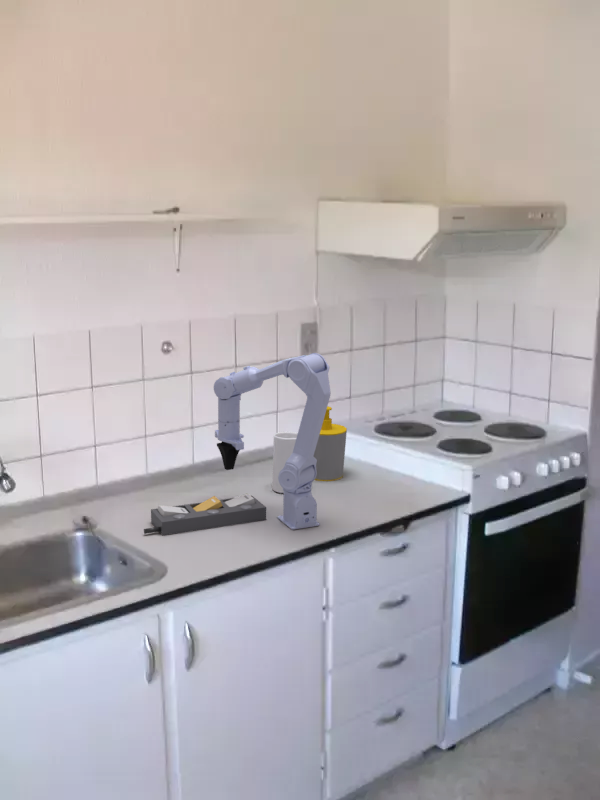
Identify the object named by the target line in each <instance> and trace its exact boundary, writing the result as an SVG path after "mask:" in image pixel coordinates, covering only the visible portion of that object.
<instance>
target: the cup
mask: <svg viewBox="0 0 600 800" xmlns="http://www.w3.org/2000/svg"><path fill="white" fill-rule="evenodd" d="M297 434H298V432H296V431H293V432H292V431H281V432H280V431H279V432H275V433H274V434H273V450H272V451H273V455H272V483H271V484H272V485H271V486H272V487H271V488H272V491H274V492H276V493H279V494H284V491H283V488H282V487H281V485H280V483H279V480H278V476H279V473H280V471H281V470H282V469H283V468H284V466H285V463H286V461H287V459H288V458H289V457H290V456H291V454H292V453H293V449H294V446H295V442H296V438H297Z"/></svg>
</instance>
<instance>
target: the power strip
mask: <svg viewBox="0 0 600 800" xmlns="http://www.w3.org/2000/svg"><path fill="white" fill-rule="evenodd" d="M250 496H251V497H253V498H254V501H255V504H247V505H240V506H233V507H229V506H228V505H227V504H225V503H224V502H226V501H228V500H231V499H233V498H234V497H231V498H225V499H219V500H220V501H221V503H222V505H223V506H222V507H220V508H218V509H211V510H205V511H198V512H196V511H195V510H194V509H193V508H194V507H196V506H197V505H199V504H201V503H203V502H204V501H201V502H194V503H187V504H182V505H181V504H180V505H179V504H178V505H173V506H172V505H171V507H181V508H185V509H186V510H187V511H188V512H189V513H184V514H176V515H170V516H162V515H161V514H160V513H159V512H158V507H157V508H152V509H150V522H151V524H152V525H153V526H154V527H148V528H143V533H144V535H145V534H153V533H159V534H161V536H167V535H168V536H169V535H174V534H181V533H183V534H184V533H188V532H195V531H202V530H208V529H215V528H221V527H228V526H233V525H235V526H236V525H242V524H247V523H254V522H261V521H267V506H266V505H265V504H263V503H262V502H261V501H259V499H257V498H255V496H253V495H250Z"/></svg>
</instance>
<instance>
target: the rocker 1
mask: <svg viewBox="0 0 600 800" xmlns="http://www.w3.org/2000/svg"><path fill="white" fill-rule="evenodd" d="M157 508H158V512H159V513H160V514H161V515H162V516H170V515H176V514H184V513H189V512H188V511H187V510H186V509H185V508H181V507H172V505H171V506H170V505H159V504H158V506H157Z"/></svg>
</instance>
